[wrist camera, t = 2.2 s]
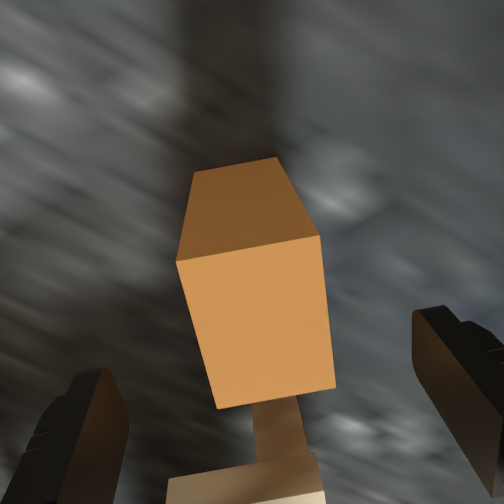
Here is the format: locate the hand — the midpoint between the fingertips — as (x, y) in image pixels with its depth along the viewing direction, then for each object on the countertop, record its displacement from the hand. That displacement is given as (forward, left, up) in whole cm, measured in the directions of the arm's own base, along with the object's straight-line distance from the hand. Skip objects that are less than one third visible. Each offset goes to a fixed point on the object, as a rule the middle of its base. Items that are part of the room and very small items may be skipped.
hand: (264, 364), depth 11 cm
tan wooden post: (0, 0, -11) cm, 11 cm away
